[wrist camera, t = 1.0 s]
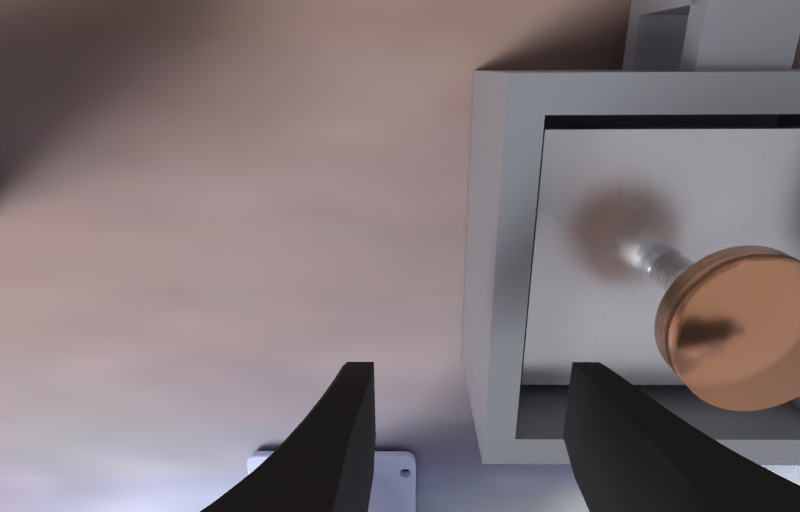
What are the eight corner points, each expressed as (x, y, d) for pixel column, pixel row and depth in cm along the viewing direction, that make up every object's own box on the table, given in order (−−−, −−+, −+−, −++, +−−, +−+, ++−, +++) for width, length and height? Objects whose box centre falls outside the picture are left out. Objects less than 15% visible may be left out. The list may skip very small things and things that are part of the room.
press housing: (732, 357, 23) (853, 465, 17) (461, 357, 23) (482, 464, 17) (829, -19, 17) (1057, -64, 11) (477, -17, 18) (516, -60, 11)
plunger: (761, 375, 18) (888, 486, 14) (518, 375, 19) (558, 484, 14) (831, 126, 15) (1029, 153, 11) (539, 127, 16) (602, 155, 11)
